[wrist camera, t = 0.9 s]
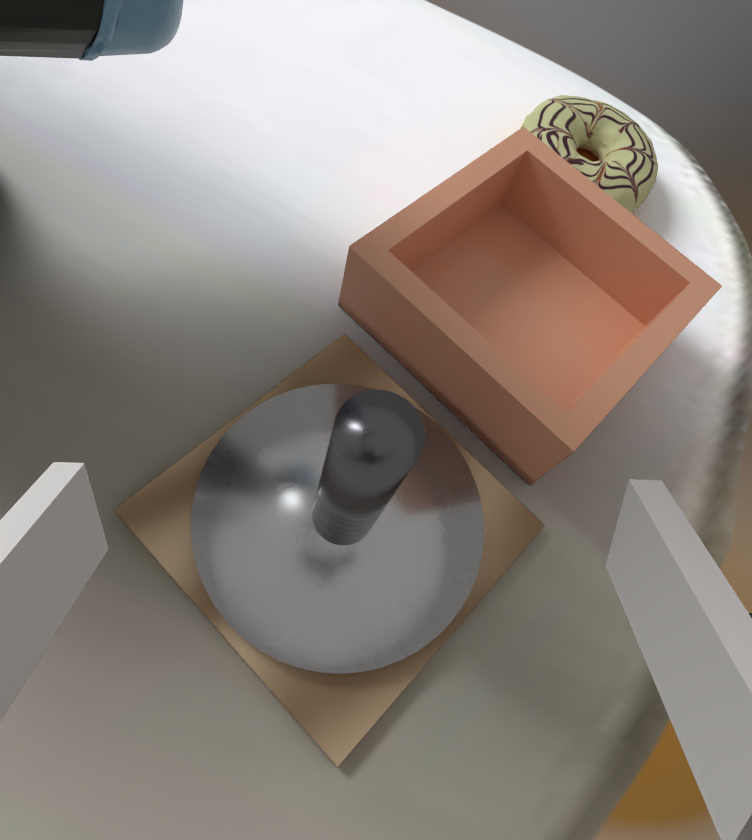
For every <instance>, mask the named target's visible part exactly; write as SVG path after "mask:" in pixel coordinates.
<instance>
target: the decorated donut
mask: <svg viewBox="0 0 752 840" xmlns="http://www.w3.org/2000/svg"><path fill="white" fill-rule="evenodd" d="M523 127H525V128H526V129H527V130H528V131H530V132H531V133H532V134H533V135H535V136H536V137H537V138H538V139H540V140H541V141H542V142H543V143H545V144H546V145H547V146H548V147H550V148H551V149H552V150H553V151H555V152H556V153H557V154H558V155H560V156H561V157H562V158H563V159H565V160H566V161H567V162H568V163H570V164H571V165H572V166H573V167H574V168H576V169H577V170H578V171H579V172H581V173H582V174H583V175H584V176H586V177H587V178H588V179H589V180H591V181H592V182H593V183H594V184H596V185H597V186H598V187H599V188H601V189H602V190H603V191H604V192H606V193H607V194H608V195H609V196H611V197H612V198H613V199H614V200H616V201H617V202H618V203H619V204H621V205H622V206H623V207H624V208H626V209H627V210H628V211H629V212H631V213H632V212H633V211H634V210H635V209H636V208H637V207H638V206H639V205H640V204H641V203H643V201H644V200H645V199H646V197H647V196H648V194H649V193H650V190H651V189H652V187H653V185H654V183H655V181H656V176H657V170H658V163H657V158H656V154H655V152H654V148H653V144H652V142H651V140H650V139H649V138H648V136H647V135H646V133H645V132H644V131H643V130H642V129H641V127H640V126H639V125H638V124H637V123H636V122H635V121H633V120H632V119H631V118H629V117H628V115H626V114H625V113H623V112H621V111H620V110H618V109H616V108H614V107H612V106H611V105H609V104H606V103H603V102H600V101H595V100H590V99H587V98H583V97H576V96H565V95H561V96H558V97H555V98H553V99H548V100H546V101H545V102H542V103H541V104H540V105H539V106H537V107H536V108H535V109H534V111H533V112H532V113H530V114H529V115H527V117H526V118H525V121H524V123H523V125H522V127H521V128H523Z"/></svg>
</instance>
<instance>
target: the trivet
mask: <svg viewBox="0 0 752 840" xmlns="http://www.w3.org/2000/svg"><path fill="white" fill-rule="evenodd" d="M321 384H349V385H357V386H364V387H368V388H372V389H376V390H386V391H390V392H393V393H396V394H398V395H400V396H402V397H403V398H405V399H406V400H408V401H409V402H410V403H411V404H412V405H413V406H414V407H415V408H417V409H418V410H420V411H421V412H423V413H424V414H426V415H427V416H428V417H429V418H430V419H432V420H433V421H434V422H435V423H436V424H438V423H437V422H436V421H435V420H434V419H433V418H432V417H431V416H430V415H429V414H428V413H427V412H426V411H425V410H424V409H423V408H422V407H421V406H420V405H419V404H418V403H416V402H415V401H414V400H413V399H412V398H411V397H410V396H409V395H408V394H407V393H406V392H405V391H404V390H403V389H402V388H401V387H400V386H399V385H398V384H397V383H396V382H394V381H393V380H392V379H391V378H390V377H389V376H388V375H387V374H386V373H385V372H384V371H383V370H382V369H381V368H380V367H379V366H378V365H377V364H376V363H375V362H374V361H373V360H371V359H370V358H369V357H368V356H367V355H366V354H365V353H364V352H363V351H362V350H361V349H360V348H359V347H358V346H357V345H356V344H355V343H354V342H353V341H352V340H351V339H350V338H348V337H347V336H346V335H345V334H343V335H342V336H341V337H340V338H338V339H337V340H336V341H334V342H333V343H332V344H330V345H329V346H328V347H326V348H325V349H324V350H322V351H321V352H320V353H319V354H317V355H316V356H315V357H313V358H312V359H311V360H309V361H308V362H307V363H305V364H304V365H303V366H302V367H300V368H299V369H298V370H296V371H295V372H294V373H292V374H291V375H290V376H288V377H287V378H286V379H285V380H283V381H282V382H281V383H279V384H278V385H277V386H275V387H274V388H273V389H271V390H270V391H269V392H268V393H266V394H265V395H264V396H262V397H261V398H260V399H258V400H257V401H256V402H254V403H253V404H252V405H251V406H249V407H248V408H247V409H245V410H244V411H243V412H241V413H240V414H239V415H237V416H236V417H235V418H233V419H232V420H231V421H230V422H228V423H227V424H226V425H224V426H223V427H222V428H220V429H219V430H218V431H216V432H215V433H214V434H213V435H211V436H210V437H209V438H207V439H206V440H205V441H203V442H202V443H201V444H199V445H198V446H197V447H196V448H194V449H193V450H192V451H190V452H189V453H188V454H186V455H185V456H184V457H182V458H181V459H180V460H179V461H177V462H176V463H175V464H173V465H172V466H171V467H169V468H168V469H167V470H165V471H164V472H163V473H162V474H160V475H159V476H158V477H156V478H155V479H154V480H152V481H151V482H150V483H148V484H147V485H146V486H144V487H143V488H142V489H141V490H139V491H138V492H137V493H135V494H134V495H133V496H131V497H130V498H129V499H127V500H126V501H125V502H124V503H122V504H121V505H120V506H118V507H117V508H116V509H114V511H115V512H116V513H117V515H118V516H119V517H120V518H121V519H122V520H123V521H124V523H125V524H126V525H127V526H128V527H129V528H130V529H131V531H132V532H133V533H134V534H135V535H136V536H137V537H138V539H139V540H140V541H141V542H142V543H143V544H144V546H145V547H146V548H147V549H148V550H149V551H150V552H151V554H152V555H153V556H154V557H155V558H156V559H157V560H158V562H159V563H160V564H161V565H162V566H163V567H164V568H165V570H166V571H167V572H168V573H169V574H170V575H171V577H172V578H173V579H174V580H175V581H176V582H177V583H178V585H179V586H180V587H181V588H182V589H183V590H184V591H185V593H186V594H187V595H188V596H189V597H190V598H191V599H192V601H193V602H194V603H195V604H196V605H197V606H198V608H199V609H200V610H201V611H202V612H203V613H204V614H205V616H206V617H207V618H208V619H209V620H210V621H211V622H212V624H213V625H214V626H215V627H216V628H217V629H218V630H219V632H220V633H221V634H222V635H223V636H224V637H225V639H226V640H227V641H228V642H229V643H230V644H231V645H232V647H233V648H234V649H235V650H236V651H237V652H238V653H239V655H240V656H241V657H242V658H243V659H244V660H245V661H246V663H247V664H248V665H249V666H250V667H251V668H252V670H253V671H254V672H255V673H256V674H257V675H258V676H259V678H260V679H261V680H262V681H263V682H264V683H265V684H266V686H267V687H268V688H269V689H270V690H271V691H272V692H273V694H274V695H275V696H276V697H277V698H278V699H279V701H280V702H281V703H282V704H283V705H284V706H285V707H286V709H287V710H288V711H289V712H290V713H291V714H292V715H293V717H294V718H295V719H296V720H297V721H298V722H299V723H300V725H301V726H302V727H303V728H304V729H305V730H306V732H307V733H308V734H309V735H310V736H311V737H312V738H313V740H314V741H315V742H316V743H317V744H318V745H319V746H320V748H321V749H322V750H323V751H324V752H325V753H326V754H327V756H328V757H329V758H330V759H331V760H332V761H333V763H334V764H335V765H336V766H337V767H338V766H339V765H340V763H341V762H342V761H343V760H344V759H345V758H346V756H347V755H348V754H349V753H350V752H351V751H352V749H353V748H354V747H355V746H356V745H357V744H358V742H359V741H360V740H361V739H362V738H363V737H364V735H365V734H366V733H367V732H368V731H369V730H370V728H371V727H372V726H373V725H374V724H375V723H376V721H377V720H378V719H379V718H380V717H381V716H382V714H383V713H384V712H385V711H386V710H387V709H388V708H389V706H390V705H391V704H392V703H393V702H394V701H395V699H396V698H397V697H398V696H399V695H400V694H401V692H402V691H403V690H404V689H405V688H406V687H407V685H408V684H409V683H410V682H411V681H412V680H413V678H414V677H415V676H416V675H417V674H418V673H419V671H420V670H421V669H422V668H423V667H424V666H425V664H426V663H427V662H428V661H429V660H430V659H431V657H432V656H433V655H434V654H435V653H436V652H437V650H438V649H439V648H440V647H441V646H442V645H443V643H444V642H445V641H446V640H447V639H448V638H449V636H450V635H451V634H452V633H453V632H454V631H455V629H456V628H457V627H458V626H459V625H460V624H461V622H462V621H463V620H464V619H465V618H466V617H467V615H468V614H469V613H470V612H471V611H472V610H473V608H474V607H475V606H476V605H477V604H478V603H479V601H480V600H481V599H482V598H483V597H484V596H485V594H486V593H487V592H488V591H489V590H490V589H491V587H492V586H493V585H494V584H495V583H496V582H497V580H498V579H499V578H500V577H501V576H502V575H503V573H504V572H505V571H506V570H507V569H508V568H509V566H510V565H511V564H512V563H513V562H514V561H515V559H516V558H517V557H518V556H519V555H520V554H521V552H522V551H523V550H524V549H525V548H526V547H527V545H528V544H529V543H530V542H531V541H532V540H533V538H534V537H535V536H536V535H537V534H538V533H539V531H540V530H541V529H542V528H543V527H544V526H545V525H544V524H543V523H542V522H541V521H540V520H539V519H538V518H537V517H536V516H535V515H534V514H533V513H532V512H530V511H529V510H528V509H527V508H526V507H525V506H524V505H523V504H522V503H521V502H520V501H519V500H518V499H517V498H516V497H515V496H514V495H513V494H512V493H511V492H510V491H509V490H507V489H506V488H505V487H504V486H503V485H502V484H501V483H500V482H499V481H498V480H497V479H496V478H495V477H494V476H493V475H492V474H491V473H490V472H489V471H488V470H487V469H486V468H484V467H483V466H482V465H481V464H480V463H479V462H478V461H477V460H476V459H475V458H474V457H473V456H472V455H471V454H470V453H469V452H468V451H467V450H466V449H465V448H464V447H462V446H461V445H460V444H459V443H458V442H457V441H456V440H455V439H454V438H453V437H452V436H451V435H450V434H449V433H448V432H447V431H446V430H445V429H444V428H443V427H442V426H441V425H439V424H438V425H439V426H440V427H441V429H442V430H443V431H444V432H445V433H446V434H447V435H448V436H449V437H450V438H451V440H452V441H453V442H454V444H455V445H456V446H457V448H458V449H459V451H460V452H461V454H462V455H463V457H464V459H465V461H466V462H467V464H468V466H469V468H470V470H471V473H472V475H473V478H474V480H475V482H476V485H477V489H478V492H479V496H480V500H481V505H482V512H483V518H484V542H483V551H482V558H481V562H480V566H479V570H478V574H477V577H476V579H475V582H474V584H473V587H472V589H471V592H470V594H469V596H468V597H467V599H466V601H465V603H464V604H463V606H462V608H461V610H460V611H459V612H458V614H457V615H456V616H455V617H454V619H453V620H452V621H451V623H450V624H449V625H448V626H447V627H446V628H445V629H444V630H443V631H442V632H441V633H440V634H439V635H438V636H437V637H436V638H435V639H434V640H432V641H431V642H430V643H428V644H427V645H426V646H424V647H423V648H422V649H420V650H419V651H417V652H415V653H414V654H412V655H410V656H408V657H406V658H405V659H403V660H401V661H398V662H395V663H393V664H390V665H387V666H385V667H382V668H378V669H373V670H369V671H364V672H357V673H344V674H333V673H318V672H313V671H309V670H304V669H299V668H296V667H293V666H290V665H288V664H285V663H282V662H279V661H277V660H275V659H273V658H272V657H270V656H268V655H266V654H264V653H262V652H261V651H259V650H258V649H256V648H255V647H254V646H252V645H251V644H249V643H248V642H247V641H245V640H244V639H243V638H242V637H241V636H240V635H239V634H238V633H237V632H236V631H235V630H234V629H233V628H232V627H231V626H230V625H229V624H228V623H227V622H226V621H225V619H224V618H223V617H222V615H221V614H220V613H219V611H218V610H217V609H216V607H215V606H214V604H213V602H212V600H211V599H210V597H209V595H208V593H207V591H206V590H205V588H204V585H203V583H202V580H201V578H200V575H199V572H198V570H197V567H196V562H195V558H194V553H193V549H192V539H191V511H192V504H193V499H194V494H195V489H196V486H197V483H198V480H199V477H200V474H201V471H202V469H203V467H204V465H205V463H206V461H207V459H208V457H209V455H210V454H211V452H212V451H213V449H214V448H215V446H216V445H217V443H218V442H219V440H220V439H221V438H222V437H223V436H224V434H225V433H226V432H227V431H228V430H229V429H230V428H231V426H232V425H234V424H235V423H236V422H237V421H238V420H239V419H240V418H242V417H243V416H244V415H245V414H246V413H248V412H249V411H251V410H252V409H254V408H255V407H257V406H258V405H259V404H261V403H263V402H265V401H267V400H269V399H271V398H273V397H275V396H277V395H280V394H282V393H285V392H288V391H291V390H294V389H298V388H302V387H307V386H312V385H321Z"/></svg>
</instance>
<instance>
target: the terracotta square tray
mask: <svg viewBox="0 0 752 840" xmlns="http://www.w3.org/2000/svg"><path fill="white" fill-rule="evenodd" d="M721 287H722V286H721V285H720V284H719V283H718V282H716V281H715V280H714V279H713V278H711V277H710V276H709V275H708V274H706V273H705V272H704V271H703V270H702V269H700V268H699V267H698V266H697V265H695V264H694V263H693V262H692V261H690V260H689V259H688V258H687V257H685V256H684V255H683V254H682V253H680V252H679V251H678V250H677V249H675V248H674V247H673V246H672V245H670V244H669V243H668V242H667V241H665V240H664V239H663V238H662V237H660V236H659V235H658V234H657V233H655V232H654V231H653V230H652V229H650V228H649V227H648V226H647V225H645V224H644V223H643V222H642V221H640V220H639V219H638V218H637V217H636V216H634V215H633V214H632V213H631V212H629V211H628V210H627V209H626V208H624V207H623V206H622V205H621V204H619V203H618V202H617V201H616V200H614V199H613V198H612V197H611V196H609V195H608V194H607V193H606V192H604V191H603V190H602V189H601V188H599V187H598V186H597V185H596V184H594V183H593V182H592V181H591V180H589V179H588V178H587V177H586V176H584V175H583V174H582V173H581V172H579V171H578V170H577V169H576V168H574V167H573V166H572V165H571V164H570V163H568V162H567V161H566V160H565V159H563V158H562V157H561V156H560V155H558V154H557V153H556V152H555V151H553V150H552V149H551V148H550V147H548V146H547V145H546V144H545V143H543V142H542V141H541V140H540V139H538V138H537V137H536V136H535V135H533V134H532V133H531V132H530V131H528V130H527V129H526V128H525V127H523V128H521V129H520V130H518V131H517V132H515V133H514V134H512V135H511V136H509V137H508V138H507V139H505V140H504V141H502V142H501V143H499V144H498V145H496V146H495V147H493V148H492V149H490V150H489V151H488V152H486V153H485V154H483V155H482V156H480V157H479V158H477V159H476V160H474V161H473V162H471V163H470V164H469V165H467V166H466V167H464V168H463V169H461V170H460V171H458V172H457V173H455V174H454V175H452V176H451V177H450V178H448V179H447V180H445V181H444V182H442V183H441V184H439V185H438V186H436V187H435V188H433V189H432V190H431V191H429V192H428V193H426V194H425V195H423V196H422V197H420V198H419V199H417V200H416V201H414V202H413V203H412V204H410V205H409V206H407V207H406V208H404V209H403V210H401V211H400V212H398V213H397V214H395V215H394V216H393V217H391V218H390V219H388V220H387V221H385V222H384V223H382V224H381V225H379V226H378V227H376V228H375V229H374V230H372V231H371V232H369V233H368V234H366V235H365V236H363V237H362V238H360V239H359V240H357V241H356V242H355V243H353V244H352V245H350V246H349V250H348V256H347V261H346V266H345V272H344V277H343V282H342V288H341V293H340V298H339V304H338V305H339V306H340V307H341V308H342V309H343V310H344V311H346V312H347V313H348V314H349V315H350V316H351V317H352V318H353V319H354V320H355V321H356V322H357V323H358V324H359V325H360V326H361V327H362V328H364V329H365V330H366V331H367V332H368V333H369V334H370V335H371V336H372V337H373V338H374V339H375V340H376V341H377V342H378V343H379V344H380V345H381V346H383V347H384V348H385V349H386V350H387V351H388V352H389V353H390V354H391V355H392V356H393V357H394V358H395V359H396V360H397V361H398V362H399V363H401V364H402V365H403V366H404V367H405V368H406V369H407V370H408V371H409V372H410V373H411V374H412V375H413V376H414V377H415V378H416V379H417V380H418V381H420V382H421V383H422V384H423V385H424V386H425V387H426V388H427V389H428V390H429V391H430V392H431V393H432V394H433V395H434V396H435V397H436V398H438V399H439V400H440V401H441V402H442V403H443V404H444V405H445V406H446V407H447V408H448V409H449V410H450V411H451V412H452V413H453V414H454V415H456V416H457V417H458V418H459V419H460V420H461V421H462V422H463V423H464V424H465V425H466V426H467V427H468V428H469V429H470V430H471V431H472V432H473V433H475V434H476V435H477V436H478V437H479V438H480V439H481V440H482V441H483V442H484V443H485V444H486V445H487V446H488V447H489V448H490V449H491V450H493V451H494V452H495V453H496V454H497V455H498V456H499V457H500V458H501V459H502V460H503V461H504V462H505V463H506V464H507V465H508V466H509V467H510V468H512V469H513V470H514V471H515V472H516V473H517V474H518V475H519V476H520V477H521V478H522V479H523V480H524V481H525V482H526V483H527V484H528V485H531V484H532V483H533V482H535V481H536V480H537V479H539V478H540V477H541V476H542V475H544V474H545V473H546V472H548V471H549V470H550V469H552V468H553V467H554V466H556V465H557V464H558V463H560V462H561V461H562V460H564V459H565V458H566V457H568V456H569V455H570V454H572V453H573V452H574V451H575V450H576V449H577V448H578V447H579V445H580V444H581V443H582V442H583V441H584V440H585V439H586V438H587V436H588V435H589V434H590V433H591V432H592V431H593V430H594V429H595V428H596V426H597V425H598V424H599V423H600V422H601V421H602V420H603V419H604V417H605V416H606V415H607V414H608V413H609V412H610V411H611V410H612V409H613V407H614V406H615V405H616V404H617V403H618V402H619V401H620V400H621V398H622V397H623V396H624V395H625V394H626V393H627V392H628V391H629V390H630V388H631V387H632V386H633V385H634V384H635V383H636V382H637V381H638V379H639V378H640V377H641V376H642V375H643V374H644V373H645V372H646V371H647V369H648V368H649V367H650V366H651V365H652V364H653V363H654V362H655V360H656V359H657V358H658V357H659V356H660V355H661V354H662V353H663V352H664V350H665V349H666V348H667V347H668V346H669V345H670V344H671V343H672V341H673V340H674V339H675V338H676V337H677V336H678V335H679V334H680V333H681V331H682V330H683V329H684V328H685V327H686V326H687V325H688V324H689V322H690V321H691V320H692V319H693V318H694V317H695V316H696V315H697V314H698V312H699V311H700V310H701V309H702V308H703V307H704V306H705V305H706V303H707V302H708V301H709V300H710V299H711V298H712V297H713V296H714V295H715V293H716V292H717V291H718V290H719V289H720V288H721Z"/></svg>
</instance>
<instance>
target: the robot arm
mask: <svg viewBox="0 0 752 840" xmlns="http://www.w3.org/2000/svg"><path fill="white" fill-rule="evenodd" d="M182 8H183V0H0V56H26V57H54V58H79V59H80V60H94V59H96V58H98V57H99V56H109V55H129V54H148V53H153V52H156V51H158V50H160V49H161V48H163V47H165V46H166V45H168V44H169V43H170V42H171V40H172V39H173V38H174V36H175V34H176V32H177V30H178V27H179V24H180V20H181V15H182ZM108 549H109V548H108V544H107V541H106V537H105V534H104V530H103V527H102V523H101V520H100V516H99V513H98V509H97V506H96V502H95V499H94V495H93V491H92V488H91V484H90V481H89V477H88V474H87V470H86V467H85V463H68V462H53V463H52V464H51V465H50V466H49V468H48V469H47V470H46V471H45V472H44V473H43V474H42V475H41V476H40V477H39V478H38V480H37V481H36V482H35V483H34V484H33V485H32V486H31V487H30V488H29V489H28V490H27V492H26V493H25V494H24V495H23V496H22V497H21V498H20V499H19V500H18V501H17V502H16V504H15V505H14V506H13V507H12V508H11V509H10V510H9V511H8V512H7V513H6V514H5V516H4V517H3V518H2V519H1V520H0V721H1V720H2V718H3V716H4V715H5V713H6V712H7V710H8V708H9V707H10V705H11V704H12V702H13V701H14V699H15V697H16V696H17V694H18V693H19V691H20V689H21V688H22V686H23V685H24V683H25V681H26V680H27V678H28V677H29V675H30V673H31V672H32V670H33V669H34V667H35V665H36V664H37V662H38V661H39V659H40V658H41V656H42V654H43V653H44V651H45V650H46V648H47V646H48V645H49V643H50V642H51V640H52V638H53V637H54V635H55V634H56V632H57V630H58V629H59V627H60V626H61V624H62V623H63V621H64V619H65V618H66V616H67V615H68V613H69V611H70V610H71V608H72V607H73V605H74V603H75V602H76V600H77V599H78V597H79V595H80V594H81V592H82V591H83V589H84V588H85V586H86V584H87V583H88V581H89V580H90V578H91V576H92V575H93V573H94V572H95V570H96V568H97V567H98V565H99V564H100V562H101V560H102V559H103V557H104V556H105V554H106V552H107V551H108ZM605 566H606V568H607V571H608V573H609V575H610V578H611V580H612V583H613V585H614V587H615V590H616V592H617V594H618V597H619V599H620V602H621V604H622V606H623V609H624V611H625V613H626V616H627V618H628V621H629V623H630V625H631V628H632V630H633V632H634V635H635V637H636V640H637V642H638V644H639V647H640V649H641V651H642V654H643V656H644V659H645V661H646V663H647V666H648V668H649V670H650V673H651V675H652V678H653V680H654V682H655V685H656V687H657V689H658V692H659V694H660V697H661V699H662V701H663V704H664V706H665V708H666V711H667V713H668V716H669V718H670V720H671V723H672V725H673V727H674V730H675V732H676V735H677V737H678V739H679V742H680V744H681V746H682V749H683V751H684V753H685V756H686V758H687V761H688V763H689V765H690V767H691V770H692V773H693V775H694V777H695V780H696V782H697V784H698V786H699V789H700V792H701V794H702V796H703V798H704V801H705V803H706V805H707V808H708V811H709V813H710V815H711V818H712V820H713V822H714V825H715V827H716V830H717V832H718V834H719V837H720V839H721V840H752V614H751V613H748V612H747V610H746V609H745V607H744V606H743V604H742V603H741V601H740V600H739V599H738V597H737V595H736V594H735V592H734V590H733V589H732V587H731V586H730V584H729V583H728V581H727V580H726V578H725V577H724V575H723V573H722V572H721V570H720V569H719V567H718V566H717V564H716V563H715V561H714V560H713V558H712V557H711V555H710V554H709V552H708V550H707V549H706V547H705V546H704V544H703V543H702V541H701V540H700V538H699V537H698V535H697V534H696V532H695V531H694V529H693V528H692V526H691V524H690V523H689V521H688V520H687V518H686V517H685V515H684V514H683V512H682V511H681V509H680V508H679V506H678V505H677V503H676V501H675V500H674V498H673V497H672V495H671V494H670V492H669V491H668V489H667V488H666V486H665V485H664V483H663V482H662V480H641V479H629V481H628V484H627V488H626V492H625V495H624V499H623V503H622V506H621V510H620V514H619V517H618V521H617V525H616V528H615V532H614V536H613V540H612V543H611V547H610V551H609V554H608V558H607V562H606V565H605Z"/></svg>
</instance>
